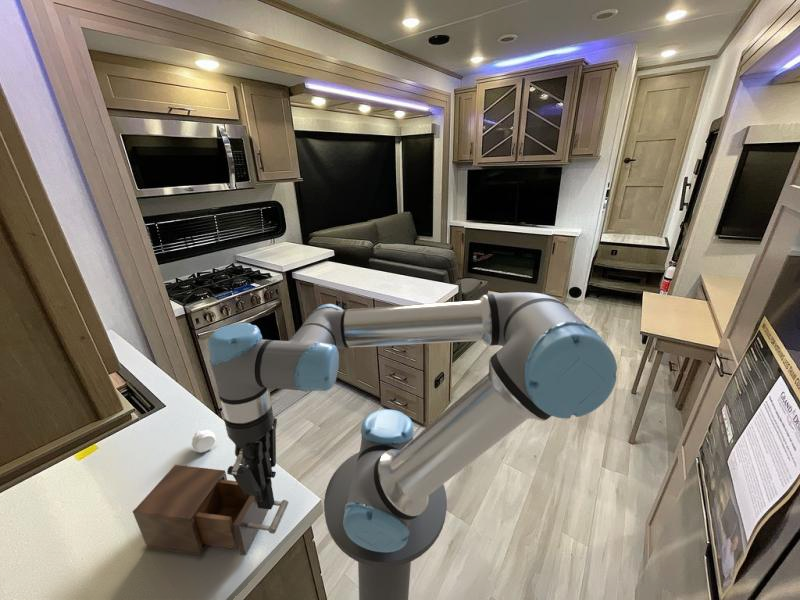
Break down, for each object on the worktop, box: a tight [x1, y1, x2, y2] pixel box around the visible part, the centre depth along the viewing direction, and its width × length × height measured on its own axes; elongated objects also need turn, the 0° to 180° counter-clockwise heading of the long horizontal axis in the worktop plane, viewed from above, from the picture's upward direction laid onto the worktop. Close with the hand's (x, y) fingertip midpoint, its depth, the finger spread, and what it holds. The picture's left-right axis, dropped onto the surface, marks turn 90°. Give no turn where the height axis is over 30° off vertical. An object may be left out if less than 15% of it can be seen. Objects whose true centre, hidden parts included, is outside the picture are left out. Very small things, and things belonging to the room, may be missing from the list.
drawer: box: [194, 479, 289, 556], centre depth 65 cm, size 16×9×9 cm, turn 84°
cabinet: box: [132, 464, 228, 556], centre depth 66 cm, size 12×11×11 cm
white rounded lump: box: [191, 429, 216, 453], centre depth 86 cm, size 6×6×5 cm
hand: (266, 505), depth 63 cm, fingers closed
